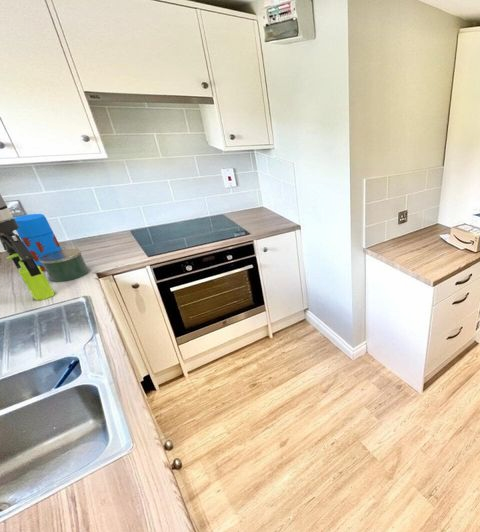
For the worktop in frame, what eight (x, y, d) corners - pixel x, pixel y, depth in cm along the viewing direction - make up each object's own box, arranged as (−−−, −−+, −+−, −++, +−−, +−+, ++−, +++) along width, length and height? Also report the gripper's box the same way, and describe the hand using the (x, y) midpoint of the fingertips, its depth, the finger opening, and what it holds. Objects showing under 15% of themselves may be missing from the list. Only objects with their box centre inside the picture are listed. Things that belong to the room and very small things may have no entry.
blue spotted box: (56, 260, 163) (31, 213, 152) (74, 262, 162) (50, 214, 151) (31, 270, 154) (3, 220, 142) (50, 272, 152) (23, 222, 141)
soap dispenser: (28, 299, 132) (1, 255, 123) (49, 291, 138) (25, 249, 128) (36, 302, 130) (10, 258, 121) (57, 294, 136) (34, 251, 127)
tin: (58, 284, 142) (46, 264, 138) (44, 277, 148) (33, 257, 143) (95, 272, 153) (86, 252, 148) (81, 265, 159) (72, 246, 154)
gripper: (27, 223, 116) (55, 274, 126) (1, 212, 127) (29, 260, 136) (-4, 229, 110) (29, 282, 120) (-28, 217, 121) (3, 267, 130)
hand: (29, 271), depth 128 cm, fingers open, 13 cm apart
